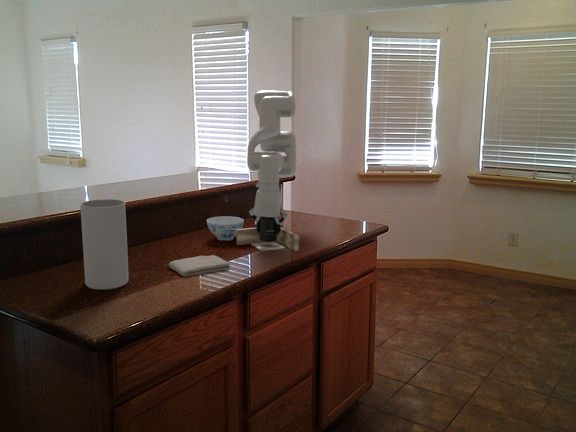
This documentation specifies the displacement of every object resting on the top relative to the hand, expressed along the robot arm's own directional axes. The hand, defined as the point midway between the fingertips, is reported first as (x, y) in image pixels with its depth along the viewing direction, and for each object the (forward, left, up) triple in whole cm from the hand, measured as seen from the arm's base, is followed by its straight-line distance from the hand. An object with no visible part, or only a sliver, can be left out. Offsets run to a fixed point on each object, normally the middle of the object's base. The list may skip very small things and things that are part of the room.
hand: (268, 232), depth 204 cm
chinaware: (-18, -11, -6) cm, 22 cm away
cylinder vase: (+19, -63, -6) cm, 66 cm away
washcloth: (+15, -32, -6) cm, 37 cm away
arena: (+1, -1, -6) cm, 6 cm away
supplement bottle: (0, 0, -3) cm, 3 cm away
